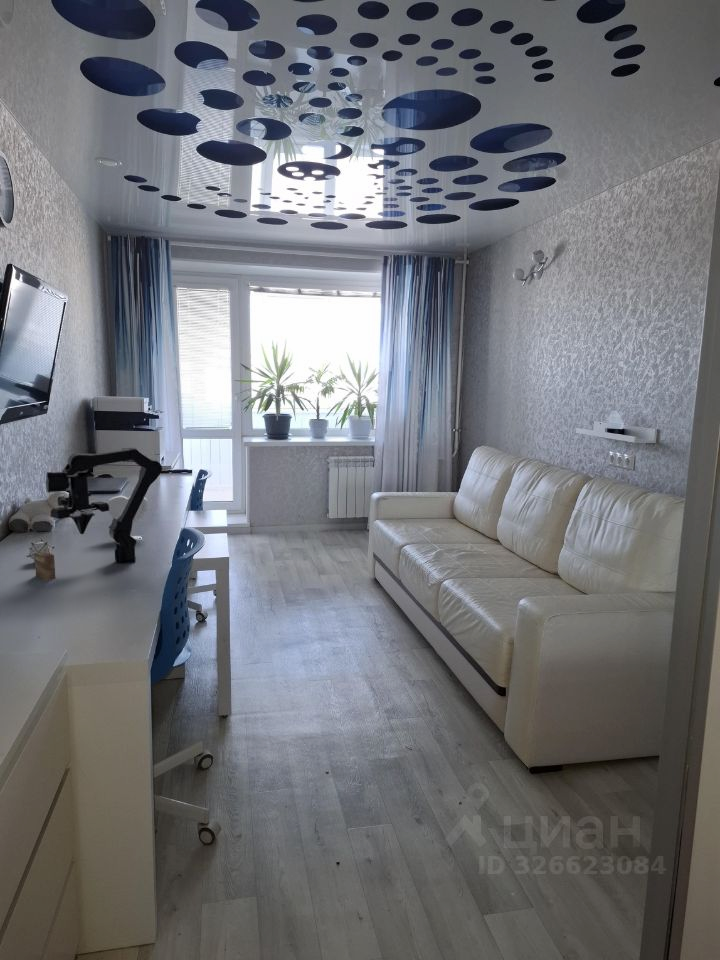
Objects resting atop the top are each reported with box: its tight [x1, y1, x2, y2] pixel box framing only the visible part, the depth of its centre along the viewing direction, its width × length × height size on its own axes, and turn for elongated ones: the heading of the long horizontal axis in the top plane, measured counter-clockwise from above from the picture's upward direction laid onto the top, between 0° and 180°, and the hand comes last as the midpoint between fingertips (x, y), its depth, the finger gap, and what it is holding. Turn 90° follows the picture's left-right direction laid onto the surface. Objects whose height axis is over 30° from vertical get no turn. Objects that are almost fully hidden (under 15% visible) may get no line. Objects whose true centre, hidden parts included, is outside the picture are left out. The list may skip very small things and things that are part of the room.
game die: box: [26, 538, 55, 563], centre depth 231 cm, size 9×8×10 cm
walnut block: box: [34, 551, 56, 581], centre depth 215 cm, size 3×7×8 cm, turn 53°
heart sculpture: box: [107, 495, 148, 540], centre depth 267 cm, size 16×5×18 cm, turn 107°
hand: (81, 533), depth 225 cm, fingers closed
